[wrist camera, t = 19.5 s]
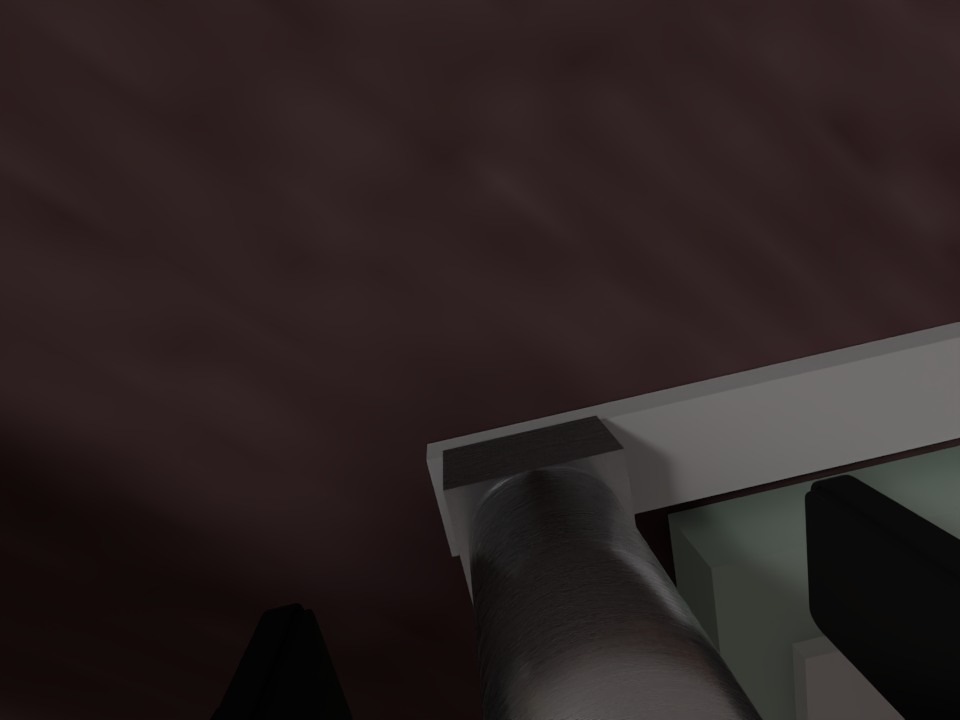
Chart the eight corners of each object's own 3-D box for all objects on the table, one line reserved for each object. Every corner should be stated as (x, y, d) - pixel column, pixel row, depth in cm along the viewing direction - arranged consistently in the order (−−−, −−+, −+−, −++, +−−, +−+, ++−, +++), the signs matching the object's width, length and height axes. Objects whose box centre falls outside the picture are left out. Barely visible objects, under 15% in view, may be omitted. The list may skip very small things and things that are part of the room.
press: (554, 925, 19) (574, 1047, 16) (427, 444, 14) (423, 501, 11) (1077, 794, 20) (1186, 891, 17) (1156, 276, 14) (1340, 288, 11)
